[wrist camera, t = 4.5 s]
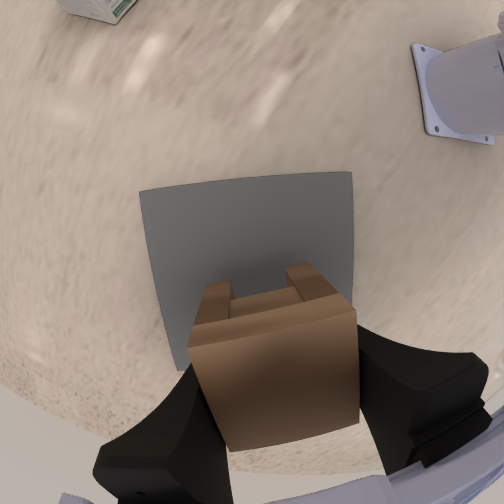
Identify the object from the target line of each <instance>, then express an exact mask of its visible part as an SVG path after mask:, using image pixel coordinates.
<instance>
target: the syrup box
mask: <svg viewBox="0 0 504 504" xmlns="http://www.w3.org/2000/svg"><path fill="white" fill-rule="evenodd" d="M54 1H55V2H57V3H58V4H59V5H60V6H61V7H63V8H64V9H65V10H66V11H67V12H68V13H70V14H74V15H79V16H84V17H88V18H92V19H96V20H100V21H104V22H107V23H111V24H117V23H118V22H119V21H120V19H121V17H122V16H123V15H124V14H125V12H126V11H127V10H128V9H129V8H130V7H131V6H132V5H133V4H134V3H135V1H136V0H54Z"/></svg>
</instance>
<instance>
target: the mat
mask: <svg viewBox="0 0 504 504" xmlns="http://www.w3.org/2000/svg"><path fill="white" fill-rule="evenodd" d="M139 197H140V204H141V211H142V218H143V224H144V230H145V236H146V242H147V247H148V253H149V258H150V263H151V268H152V273H153V278H154V283H155V287H156V292H157V296H158V301H159V305H160V309H161V313H162V317H163V321H164V325H165V329H166V333H167V337H168V340H169V344H170V348H171V351H172V355H173V358H174V362H175V365H176V368H177V371H185V370H187V368H188V366H189V365H190V363H191V360H190V357H189V355H188V352H187V349H186V347H187V344H188V340H189V337H190V334H191V331H192V328H193V324H194V321H195V318H196V315H197V312H198V309H199V305H200V302H201V299H202V296H203V293H204V290H205V287H206V285H207V284H211V283H216V282H221V281H225V280H230V279H231V283H232V287H233V291H234V295H235V299H238V298H242V297H247V296H252V295H256V294H261V293H265V292H269V291H274V290H278V289H283V288H287V287H288V285H287V280H286V275H285V269H284V267H288V266H292V265H297V264H301V263H305V262H309V263H310V264H311V265H312V266H313V267H314V268H315V269H316V270H317V271H318V272H319V273H320V274H321V275H322V276H323V277H324V278H325V279H326V280H327V281H328V282H329V283H330V284H331V285H332V286H333V287H334V288H335V289H336V290H337V291H338V292H339V293H340V294H341V295H342V296H343V297H344V298H345V299H346V300H347V301H348V302H349V303H350V304H352V285H353V249H354V221H353V186H352V172H326V173H305V174H289V175H274V176H262V177H250V178H240V179H230V180H221V181H212V182H204V183H196V184H188V185H181V186H174V187H167V188H160V189H154V190H147V191H141V192H139Z"/></svg>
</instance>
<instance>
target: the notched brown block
mask: <svg viewBox="0 0 504 504" xmlns="http://www.w3.org/2000/svg"><path fill="white" fill-rule="evenodd" d="M284 269H285V275H286V280H287V285H288V287H287V288H283V289H278V290H274V291H269V292H265V293H261V294H256V295H252V296H247V297H242V298H238V299H235V295H234V291H233V287H232V283H231V279H230V280H225V281H221V282H216V283H211V284H207V285H206V287H205V290H204V293H203V296H202V299H201V302H200V305H199V309H198V312H197V315H196V318H195V321H194V324H193V328H192V331H191V334H190V337H189V340H188V344H187V347H186V349H187V352H188V355H189V357H190V360H191V363H192V365H193V368H194V371H195V373H196V376H197V378H198V381H199V383H200V386H201V388H202V391H203V393H204V396H205V398H206V400H207V403H208V405H209V407H210V410H211V412H212V414H213V417H214V419H215V421H216V423H217V426H218V428H219V430H220V432H221V434H222V437H223V439H224V441H225V443H226V445H227V447H228V449H229V451H230V452H236V451H244V450H250V449H257V448H263V447H268V446H274V445H279V444H284V443H289V442H293V441H297V440H302V439H306V438H310V437H314V436H318V435H321V434H325V433H328V432H332V431H335V430H339V429H342V428H345V427H348V426H351V425H354V424H357V423H359V413H360V385H359V352H358V333H357V319H356V310H355V309H354V308H353V307H352V306H351V304H350V303H349V302H348V301H347V300H346V299H345V298H344V297H343V296H342V295H341V294H340V293H339V292H338V291H337V290H336V289H335V288H334V287H333V286H332V285H331V284H330V283H329V282H328V281H327V280H326V279H325V278H324V277H323V276H322V275H321V274H320V273H319V272H318V271H317V270H316V269H315V268H314V267H313V266H312V265H311V264H310V263H309V262H305V263H301V264H297V265H292V266H288V267H284Z"/></svg>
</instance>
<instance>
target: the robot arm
mask: <svg viewBox="0 0 504 504" xmlns="http://www.w3.org/2000/svg"><path fill="white" fill-rule="evenodd" d="M497 25H498V27H499V29H500V30H501V33H499V34H496V35H493V36H489V37H486V38H483V39H480V40H477V41H475V42H472V43H469V44H466V45H463V46H461V47H458V48H456V49H453V50H450V51H448V52H443V51H440V50H437V49H434V48H431V47H428V46H425V45H421V44H418V43H415V44H413V45H412V51H413V55H414V60H415V64H416V69H417V74H418V80H419V85H420V91H421V97H422V104H423V111H424V120H425V128H426V131H427V133H428V134H430V135H435V136H442V137H449V138H455V139H461V140H467V141H472V142H477V143H482V144H487V145H494V143H495V139H494V135H504V11H502V12H501V13H500V14H499V21H498V23H497ZM421 49H422V50H423V51H422V50H421ZM435 128H436V131H435ZM357 333H358V352H359V385H360V409H361V411H362V413H363V415H364V417H365V420H366V422H367V424H368V427H369V429H370V431H371V434H372V436H373V439H374V442H375V444H376V447H377V450H378V452H379V455H380V458H381V461H382V464H383V467H384V470H385V473H386V476H385V475H371V476H367V477H364V478H360V479H356V480H354V481H350V482H348V483H345V484H342V485H338V486H335V487H332V488H328V489H325V490H322V491H318V492H314V493H310V494H306V495H302V496H297V497H293V498H288V499H283V500H278V501H273V502H269V503H265V504H467V503H468V502H470V501H471V500H473V499H474V498H475V497H476V496H478V495H479V494H480V493H482V492H483V491H484V490H485V489H487V488H488V487H489V486H490V485H492V484H493V483H494V482H495V481H496V480H498V479H499V478H500V477H501V476H502V475H503V474H504V405H503V406H502V407H501V408H500V409H498V410H497V411H496V412H495V413H493V414H492V415H491V416H490V415H489V414H488V413H487V412H486V410H485V409H484V408H483V407H484V405H485V402H484V401H483V400H482V399H481V398H480V397H481V394H482V392H483V389H484V387H485V384H486V382H487V378H488V373H489V370H488V366H487V365H486V364H485V363H484V362H483V361H482V360H481V359H480V358H479V357H478V356H477V355H475V354H474V353H473V352H469V353H449V352H437V351H430V350H424V349H419V348H415V347H411V346H407V345H404V344H401V343H397V342H394V341H392V340H389V339H387V338H384V337H382V336H380V335H377V334H375V333H373V332H371V331H369V330H367V329H365V328H363V327H361V326H360V325H358V324H357ZM93 476H94V478H95V479H96V481H97V482H98V483H99V484H100V485H101V486H102V487H103V488H105V489H106V490H107V491H108V492H110V493H111V494H112V495H113V496H115V497H116V498H118V504H234V503H233V497H232V491H231V485H230V479H229V470H228V462H227V452H226V443H225V441H224V439H223V437H222V434H221V432H220V430H219V428H218V426H217V423H216V421H215V419H214V417H213V414H212V412H211V410H210V407H209V405H208V403H207V400H206V398H205V396H204V393H203V391H202V388H201V386H200V383H199V381H198V378H197V376H196V373H195V371H194V368H193V365H192V363H190V365H189V366H188V368H187V370H186V371H185V373H184V374H183V376H182V377H181V379H180V380H179V382H178V383H177V384H176V386H175V387H174V388H173V389H172V391H171V392H170V393H169V395H168V396H167V397H166V398H165V399H164V400H163V401H162V402H161V404H160V405H159V406H158V407H157V408H156V409H155V410H154V411H152V412H151V413H150V414H149V415H148V416H147V417H146V418H144V419H143V420H142V421H141V422H140V423H138V424H137V425H136V426H134V427H133V428H132V429H130V430H129V431H127V432H126V433H124V434H123V435H121V436H119V437H117V438H116V439H114V440H112V441H110V442H108V443H106V444H105V445H102V446H101V448H100V450H99V453H98V456H97V459H96V462H95V465H94V468H93ZM59 504H94V503H92V502H91V501H89V500H87V499H85V498H82V497H78V496H74V495H70V494H66V493H62V495H61V498H60V501H59Z"/></svg>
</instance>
